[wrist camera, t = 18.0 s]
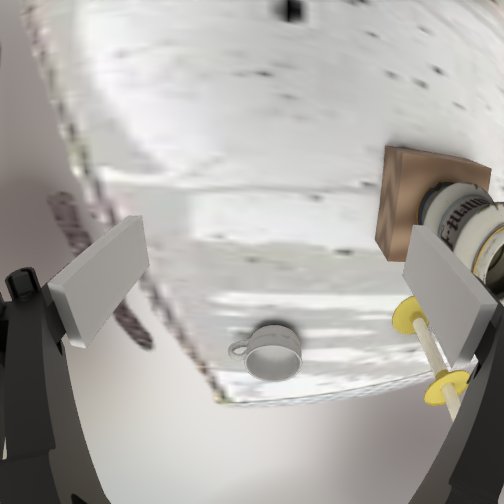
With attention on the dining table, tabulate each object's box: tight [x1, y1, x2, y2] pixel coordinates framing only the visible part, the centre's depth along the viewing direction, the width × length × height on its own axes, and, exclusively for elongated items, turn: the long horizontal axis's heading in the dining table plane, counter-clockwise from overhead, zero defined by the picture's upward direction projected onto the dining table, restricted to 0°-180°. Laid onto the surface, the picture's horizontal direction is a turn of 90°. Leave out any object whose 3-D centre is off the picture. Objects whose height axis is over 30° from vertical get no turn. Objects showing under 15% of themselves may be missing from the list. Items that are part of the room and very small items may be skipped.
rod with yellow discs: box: [392, 296, 470, 422], centre depth 39 cm, size 10×10×38 cm
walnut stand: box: [375, 146, 491, 262], centre depth 42 cm, size 16×16×8 cm
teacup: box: [228, 325, 302, 382], centre depth 58 cm, size 14×11×8 cm
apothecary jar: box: [416, 180, 504, 305], centre depth 30 cm, size 12×12×18 cm
